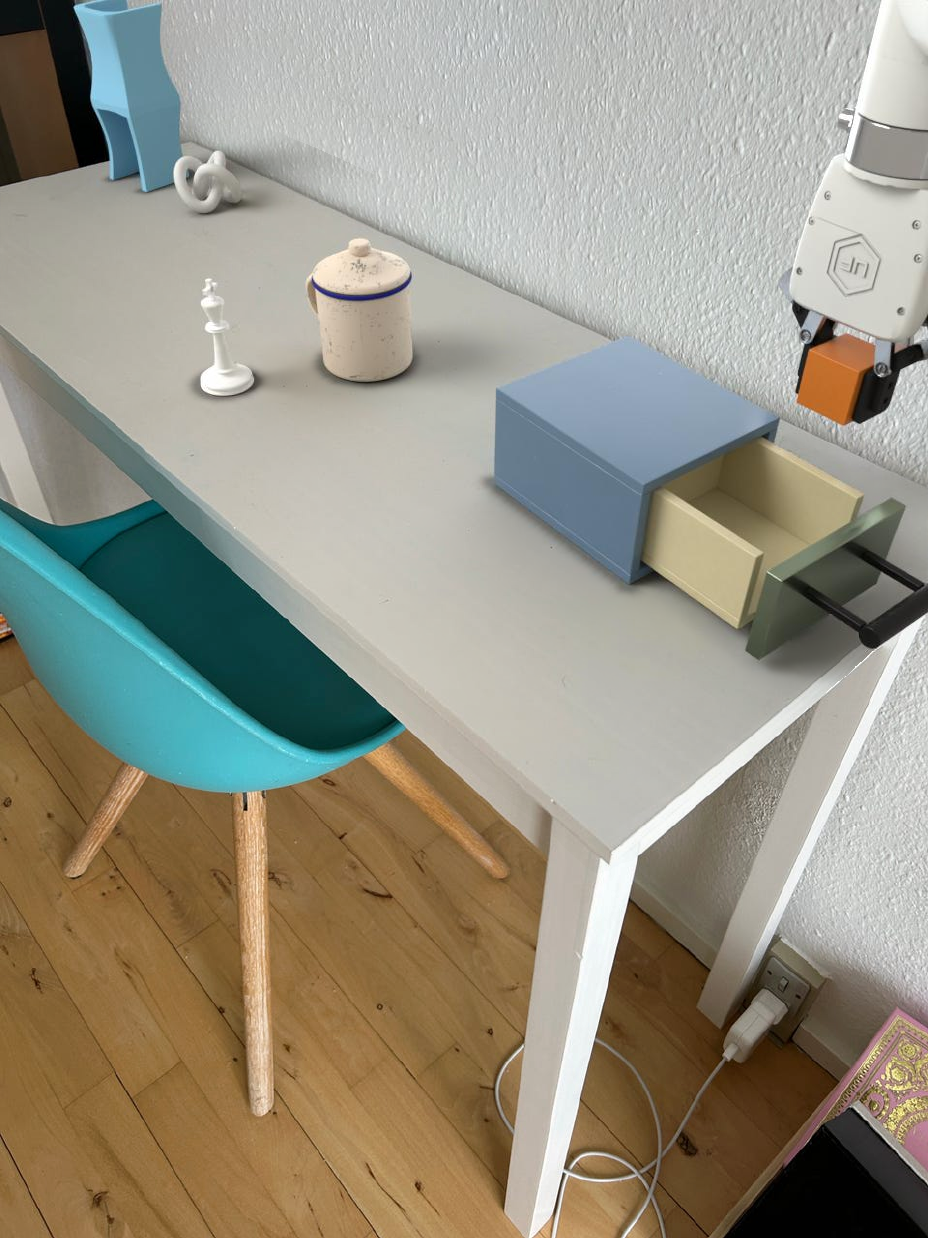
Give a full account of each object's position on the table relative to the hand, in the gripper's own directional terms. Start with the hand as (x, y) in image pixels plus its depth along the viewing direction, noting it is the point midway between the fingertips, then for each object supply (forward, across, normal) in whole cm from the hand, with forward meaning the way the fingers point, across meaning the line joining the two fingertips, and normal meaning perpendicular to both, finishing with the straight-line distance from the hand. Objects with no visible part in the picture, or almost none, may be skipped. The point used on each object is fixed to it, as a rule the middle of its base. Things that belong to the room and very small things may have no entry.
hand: (839, 400), depth 74 cm
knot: (+7, -85, -11) cm, 86 cm away
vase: (+6, -100, -13) cm, 101 cm away
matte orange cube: (0, 0, 0) cm, 0 cm away
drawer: (+7, +6, -13) cm, 17 cm away
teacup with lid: (+7, -41, -18) cm, 45 cm away
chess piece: (+7, -44, -30) cm, 54 cm away
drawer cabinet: (+8, -8, -13) cm, 18 cm away
